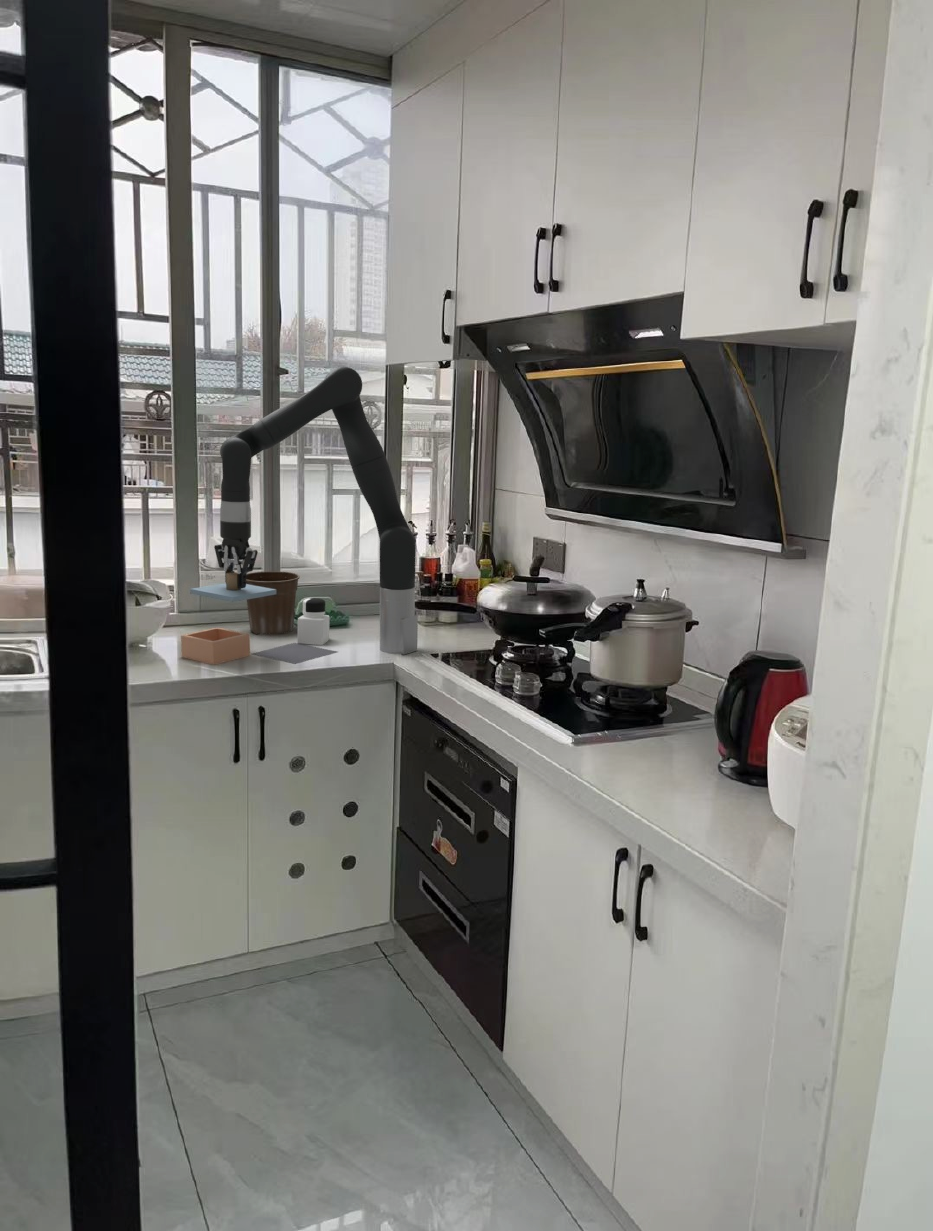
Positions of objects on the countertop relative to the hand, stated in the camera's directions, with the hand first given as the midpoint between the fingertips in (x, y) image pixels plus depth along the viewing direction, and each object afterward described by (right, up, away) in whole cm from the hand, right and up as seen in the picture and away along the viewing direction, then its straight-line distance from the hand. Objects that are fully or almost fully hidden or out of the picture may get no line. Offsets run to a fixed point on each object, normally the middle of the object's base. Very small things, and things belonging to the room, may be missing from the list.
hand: (235, 586), depth 245 cm
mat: (+14, -17, +7) cm, 23 cm away
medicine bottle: (+17, -15, +20) cm, 30 cm away
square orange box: (-6, -18, +2) cm, 19 cm away
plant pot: (+3, -12, +33) cm, 35 cm away
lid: (0, -2, 0) cm, 2 cm away
